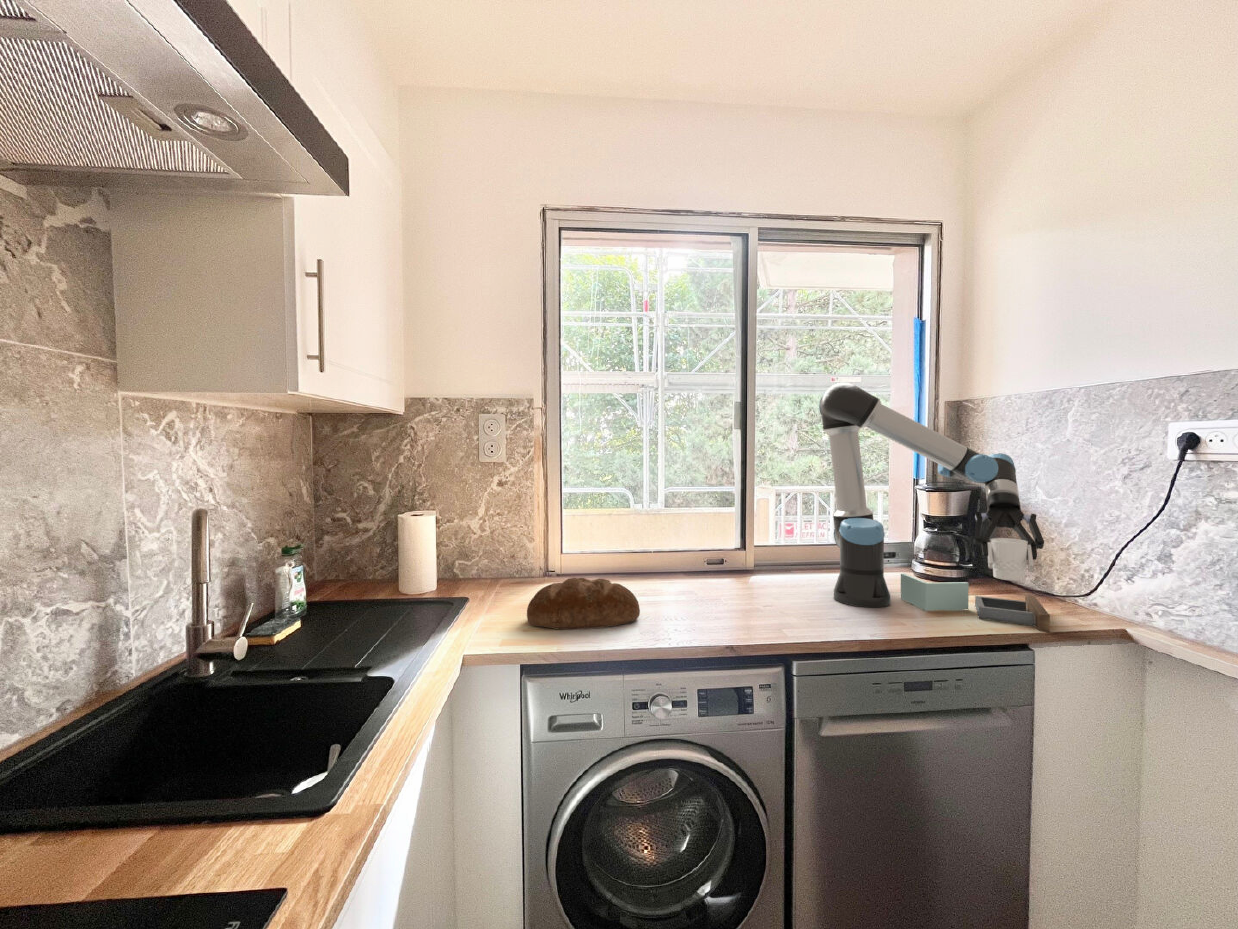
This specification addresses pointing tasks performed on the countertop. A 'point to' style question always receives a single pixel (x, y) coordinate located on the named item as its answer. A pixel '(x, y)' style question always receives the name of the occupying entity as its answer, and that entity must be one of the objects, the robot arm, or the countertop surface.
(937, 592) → the right angle wall
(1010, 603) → the gray square tray
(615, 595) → the bread
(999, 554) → the white cup
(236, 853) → the countertop surface
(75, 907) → the countertop surface
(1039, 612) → the brown drawer face panel
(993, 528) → the robot arm
